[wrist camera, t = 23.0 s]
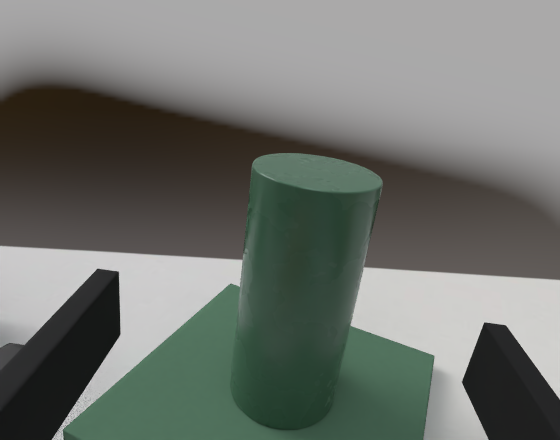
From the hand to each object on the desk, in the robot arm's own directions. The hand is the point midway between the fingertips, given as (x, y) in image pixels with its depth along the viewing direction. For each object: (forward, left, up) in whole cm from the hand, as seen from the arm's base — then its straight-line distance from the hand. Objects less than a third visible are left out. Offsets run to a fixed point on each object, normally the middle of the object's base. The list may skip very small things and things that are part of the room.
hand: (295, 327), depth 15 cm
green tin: (-2, +6, -9) cm, 11 cm away
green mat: (-2, +6, -10) cm, 12 cm away
